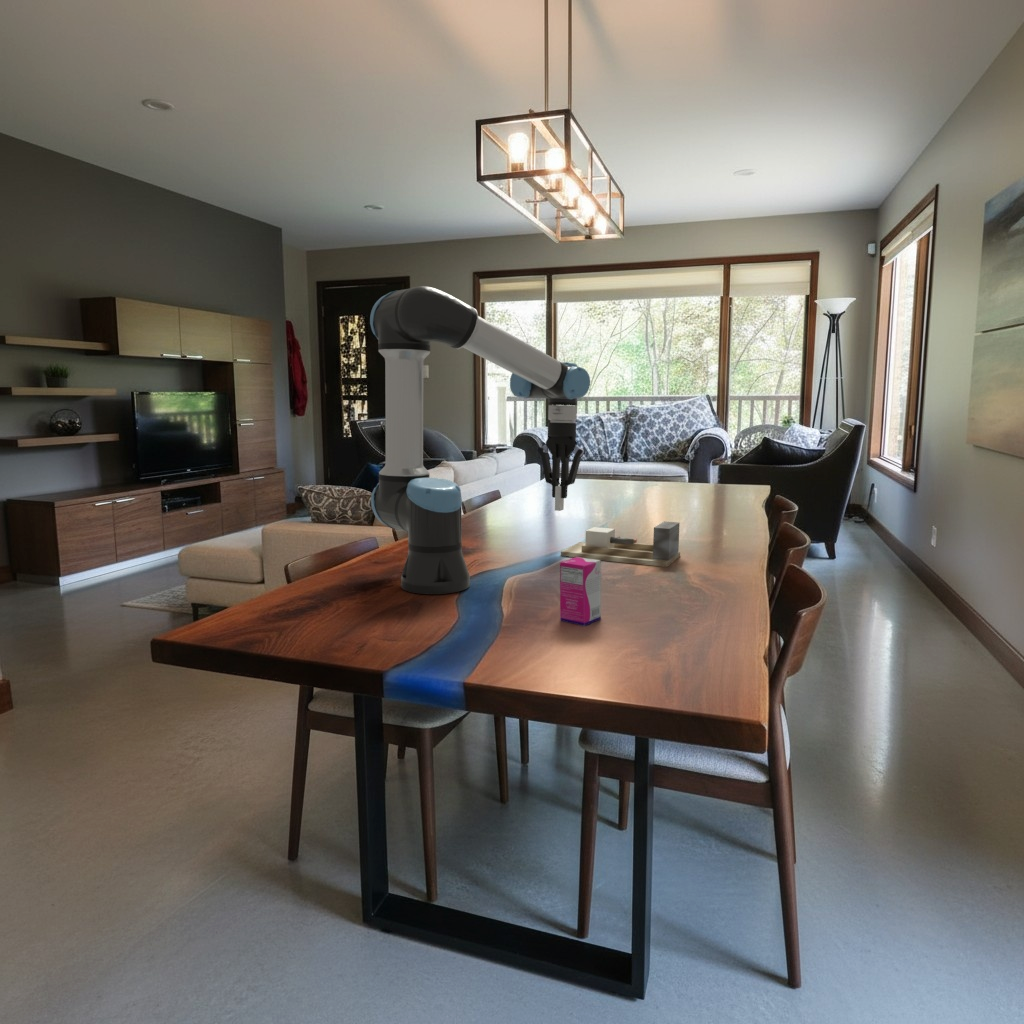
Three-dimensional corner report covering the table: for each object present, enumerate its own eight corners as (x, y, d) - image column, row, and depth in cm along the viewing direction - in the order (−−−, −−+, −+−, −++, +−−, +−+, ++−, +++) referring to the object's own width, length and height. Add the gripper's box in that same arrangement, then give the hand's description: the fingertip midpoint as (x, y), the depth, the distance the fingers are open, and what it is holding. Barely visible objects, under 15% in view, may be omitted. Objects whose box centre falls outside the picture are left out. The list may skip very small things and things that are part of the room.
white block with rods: (585, 549, 198) (585, 530, 198) (598, 542, 207) (598, 524, 207) (629, 553, 193) (629, 534, 193) (640, 546, 202) (641, 528, 201)
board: (560, 555, 197) (561, 521, 196) (580, 546, 210) (580, 513, 208) (666, 566, 185) (667, 530, 184) (680, 555, 198) (681, 521, 196)
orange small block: (633, 546, 201) (633, 539, 201) (634, 546, 202) (634, 538, 202) (635, 547, 201) (635, 539, 201) (636, 546, 202) (636, 538, 202)
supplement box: (575, 613, 146) (576, 555, 145) (601, 619, 143) (603, 560, 141) (558, 620, 142) (559, 561, 140) (584, 626, 138) (585, 565, 137)
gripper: (533, 421, 199) (531, 509, 202) (580, 422, 193) (576, 513, 197) (545, 420, 206) (542, 506, 209) (590, 422, 200) (586, 510, 203)
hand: (559, 510), depth 203 cm, fingers closed
